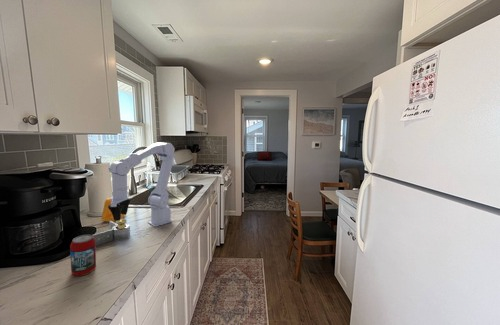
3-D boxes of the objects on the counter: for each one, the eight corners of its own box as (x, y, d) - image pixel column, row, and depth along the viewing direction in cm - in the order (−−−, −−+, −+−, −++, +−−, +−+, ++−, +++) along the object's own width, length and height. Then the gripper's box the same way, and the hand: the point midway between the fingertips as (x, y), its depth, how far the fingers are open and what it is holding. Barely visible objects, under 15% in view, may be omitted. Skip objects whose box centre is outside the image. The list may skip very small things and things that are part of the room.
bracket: (115, 223, 114) (114, 201, 113) (101, 222, 114) (100, 200, 113) (126, 215, 125) (126, 195, 124) (114, 215, 125) (114, 195, 124)
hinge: (117, 228, 108) (117, 218, 107) (132, 236, 100) (132, 226, 99) (83, 238, 96) (82, 228, 95) (96, 249, 88) (96, 237, 87)
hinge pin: (124, 234, 102) (124, 218, 101) (128, 237, 99) (127, 220, 98) (115, 237, 98) (114, 220, 98) (118, 240, 96) (118, 222, 95)
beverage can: (68, 279, 69) (66, 244, 68) (74, 268, 75) (72, 235, 74) (94, 274, 72) (93, 240, 71) (97, 263, 78) (96, 232, 77)
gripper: (117, 184, 102) (117, 211, 104) (102, 192, 88) (103, 223, 90) (132, 184, 104) (133, 211, 105) (120, 192, 90) (121, 223, 91)
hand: (120, 217), depth 98 cm, fingers open, 7 cm apart
